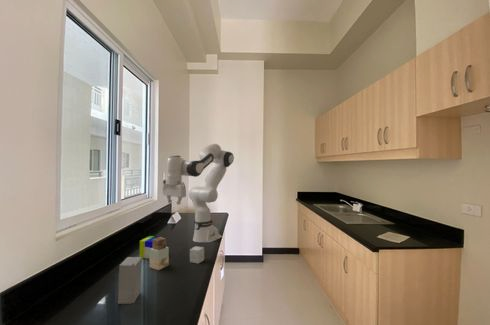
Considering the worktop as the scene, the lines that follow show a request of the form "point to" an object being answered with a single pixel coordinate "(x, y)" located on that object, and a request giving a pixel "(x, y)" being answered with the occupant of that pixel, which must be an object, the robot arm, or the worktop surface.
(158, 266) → the tower base
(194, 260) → the skincare box
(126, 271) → the skincare box
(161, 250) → the block
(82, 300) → the worktop surface
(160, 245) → the walnut block
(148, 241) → the puzzle toy
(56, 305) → the worktop surface
